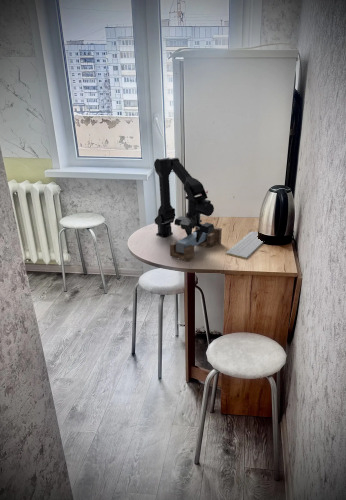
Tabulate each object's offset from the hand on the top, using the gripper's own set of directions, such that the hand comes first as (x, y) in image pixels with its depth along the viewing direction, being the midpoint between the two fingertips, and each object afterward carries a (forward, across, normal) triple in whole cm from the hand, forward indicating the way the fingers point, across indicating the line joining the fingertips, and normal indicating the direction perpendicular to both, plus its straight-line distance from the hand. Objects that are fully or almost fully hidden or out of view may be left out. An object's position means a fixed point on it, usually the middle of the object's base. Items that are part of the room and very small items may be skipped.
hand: (193, 241), depth 183 cm
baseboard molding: (+5, +18, +21) cm, 28 cm away
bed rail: (+2, 0, 0) cm, 2 cm away
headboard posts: (+4, 0, 0) cm, 5 cm away
